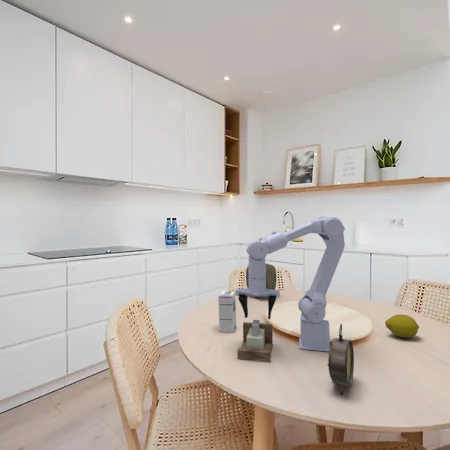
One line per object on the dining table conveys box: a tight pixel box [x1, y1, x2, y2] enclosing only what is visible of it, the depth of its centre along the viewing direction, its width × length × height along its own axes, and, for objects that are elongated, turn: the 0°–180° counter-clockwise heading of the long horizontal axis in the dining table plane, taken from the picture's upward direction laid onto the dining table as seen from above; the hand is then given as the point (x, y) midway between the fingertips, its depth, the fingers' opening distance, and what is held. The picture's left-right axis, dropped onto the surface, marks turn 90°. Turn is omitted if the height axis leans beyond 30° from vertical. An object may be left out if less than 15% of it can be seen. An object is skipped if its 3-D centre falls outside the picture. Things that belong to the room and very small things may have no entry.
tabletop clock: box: [245, 262, 277, 299], centre depth 155 cm, size 14×9×25 cm, turn 43°
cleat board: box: [237, 321, 274, 363], centre depth 96 cm, size 10×12×7 cm
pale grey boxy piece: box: [246, 319, 265, 350], centre depth 96 cm, size 5×8×8 cm, turn 167°
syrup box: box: [217, 290, 237, 333], centre depth 114 cm, size 6×6×14 cm
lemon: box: [384, 314, 420, 339], centre depth 105 cm, size 11×8×8 cm
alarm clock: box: [327, 323, 355, 396], centre depth 76 cm, size 11×5×16 cm, turn 148°
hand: (257, 317), depth 98 cm, fingers open, 7 cm apart
